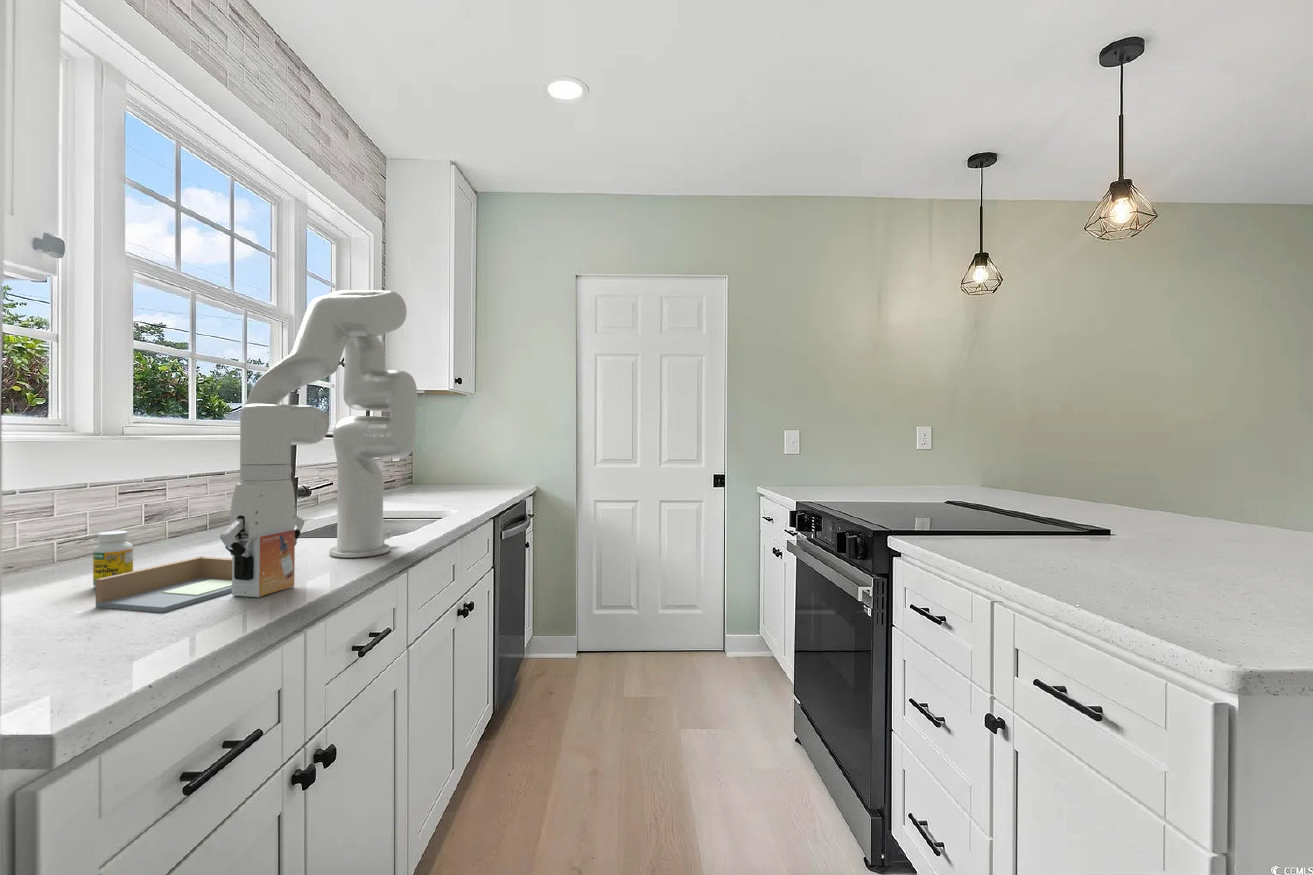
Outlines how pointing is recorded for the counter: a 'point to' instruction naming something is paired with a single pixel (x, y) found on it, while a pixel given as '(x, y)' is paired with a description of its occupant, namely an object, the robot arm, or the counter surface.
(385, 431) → the robot arm
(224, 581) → the pad
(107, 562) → the supplement bottle
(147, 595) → the arena
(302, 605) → the counter surface
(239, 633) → the counter surface
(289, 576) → the small box
